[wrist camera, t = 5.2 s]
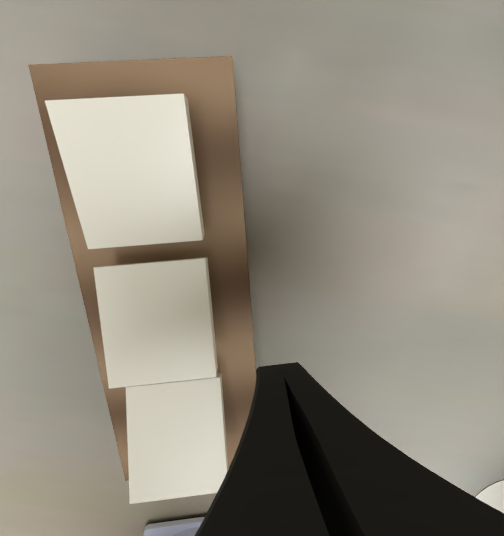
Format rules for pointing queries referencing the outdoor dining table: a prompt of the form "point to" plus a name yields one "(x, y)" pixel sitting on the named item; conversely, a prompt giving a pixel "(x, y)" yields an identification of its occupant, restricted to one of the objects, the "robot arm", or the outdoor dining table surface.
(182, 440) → the switch
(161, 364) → the switch
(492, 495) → the champagne flute
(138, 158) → the switch
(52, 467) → the outdoor dining table surface
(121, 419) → the switch unit
